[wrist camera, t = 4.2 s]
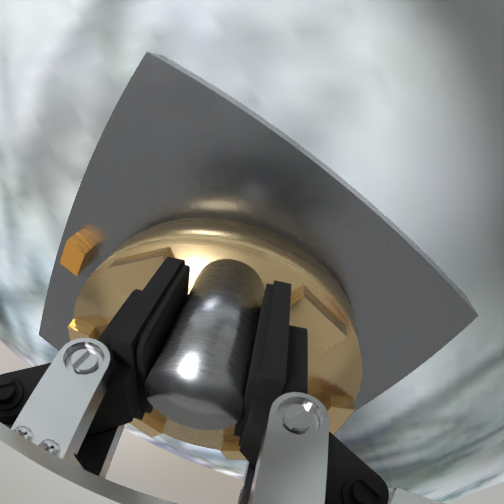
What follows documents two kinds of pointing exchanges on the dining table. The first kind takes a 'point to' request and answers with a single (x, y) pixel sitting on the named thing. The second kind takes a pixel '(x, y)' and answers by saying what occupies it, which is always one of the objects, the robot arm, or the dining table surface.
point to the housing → (250, 215)
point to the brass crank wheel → (224, 324)
